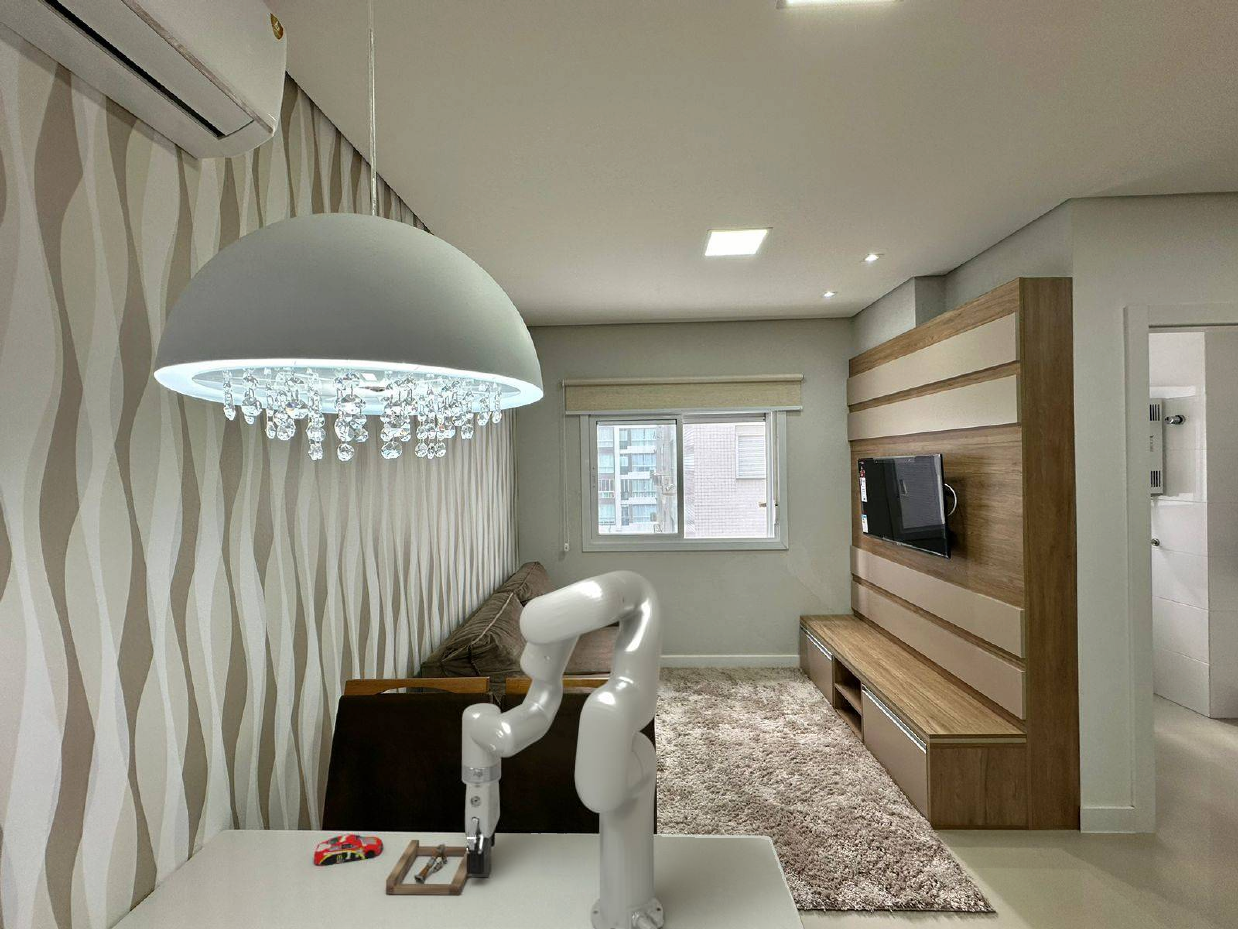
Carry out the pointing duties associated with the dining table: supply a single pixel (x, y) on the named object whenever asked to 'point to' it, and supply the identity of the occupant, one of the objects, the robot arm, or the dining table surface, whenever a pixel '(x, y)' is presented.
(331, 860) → the race car
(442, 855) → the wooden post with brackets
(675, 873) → the dining table surface
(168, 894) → the dining table surface
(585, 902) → the dining table surface
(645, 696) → the robot arm
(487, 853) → the brown hollow square frame
